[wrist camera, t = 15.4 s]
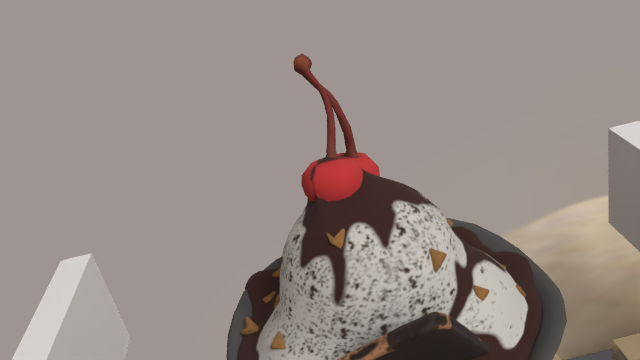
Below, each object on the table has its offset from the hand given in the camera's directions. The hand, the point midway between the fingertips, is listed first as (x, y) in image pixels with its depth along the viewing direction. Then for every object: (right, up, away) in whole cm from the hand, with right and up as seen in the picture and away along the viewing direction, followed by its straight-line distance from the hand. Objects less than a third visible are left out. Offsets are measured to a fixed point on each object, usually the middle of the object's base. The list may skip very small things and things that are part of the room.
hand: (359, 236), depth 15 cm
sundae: (+2, -10, +1) cm, 10 cm away
